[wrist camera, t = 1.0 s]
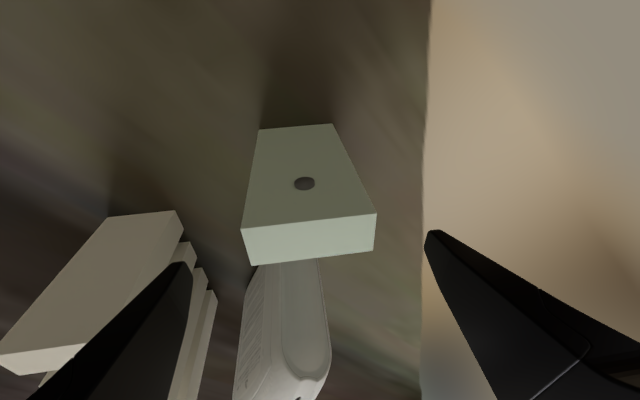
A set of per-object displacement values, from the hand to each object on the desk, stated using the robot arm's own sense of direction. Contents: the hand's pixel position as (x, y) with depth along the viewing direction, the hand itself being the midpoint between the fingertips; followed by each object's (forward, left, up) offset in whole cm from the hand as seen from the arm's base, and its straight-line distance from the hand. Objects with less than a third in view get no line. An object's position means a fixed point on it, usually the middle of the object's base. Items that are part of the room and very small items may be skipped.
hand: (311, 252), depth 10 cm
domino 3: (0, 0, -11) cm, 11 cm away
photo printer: (-3, -13, -11) cm, 17 cm away
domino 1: (-12, -6, -11) cm, 17 cm away
